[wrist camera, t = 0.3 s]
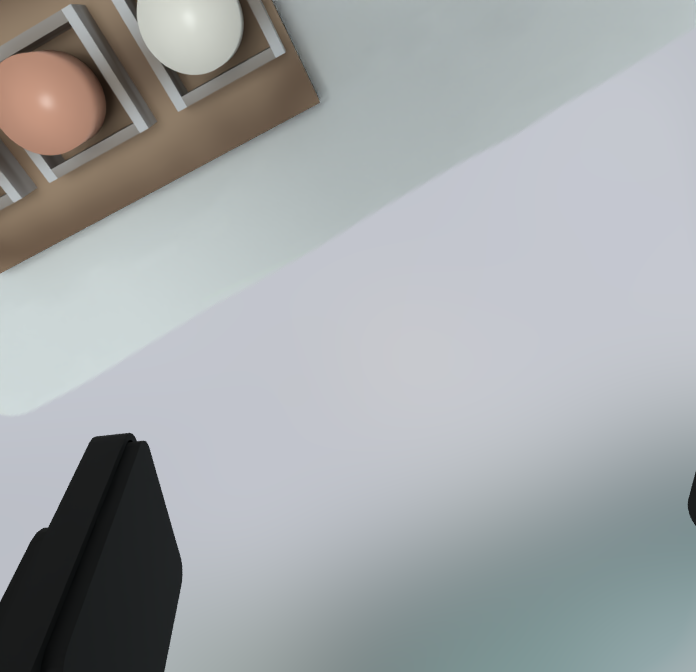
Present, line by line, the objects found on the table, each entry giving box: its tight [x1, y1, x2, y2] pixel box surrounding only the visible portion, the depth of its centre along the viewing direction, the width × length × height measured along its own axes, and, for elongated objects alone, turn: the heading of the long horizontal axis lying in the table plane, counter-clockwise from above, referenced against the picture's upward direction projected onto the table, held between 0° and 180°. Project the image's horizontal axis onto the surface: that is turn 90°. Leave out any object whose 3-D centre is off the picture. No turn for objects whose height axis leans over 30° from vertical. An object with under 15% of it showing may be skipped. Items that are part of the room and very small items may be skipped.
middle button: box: [0, 50, 106, 155], centre depth 32 cm, size 5×5×3 cm
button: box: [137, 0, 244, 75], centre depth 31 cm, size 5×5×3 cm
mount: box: [0, 0, 320, 273], centre depth 36 cm, size 14×26×6 cm, turn 116°
